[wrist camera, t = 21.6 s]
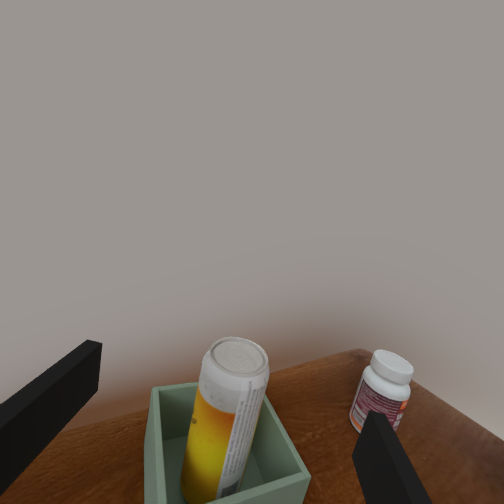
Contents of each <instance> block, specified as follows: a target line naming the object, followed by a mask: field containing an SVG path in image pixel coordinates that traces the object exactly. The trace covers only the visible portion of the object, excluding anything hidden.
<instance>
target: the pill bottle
mask: <svg viewBox="0 0 504 504" xmlns="http://www.w3.org/2000/svg"><path fill="white" fill-rule="evenodd" d="M370 364H371V365H369V366H367V367H366V368H365V369H364V371H363V374H362V377H361V380H360V383H359V386H358V389H357V392H356V395H355V398H354V400H353V403H352V406H351V409H350V414H349V416H350V420H351V423H352V425H353V426H354V428H355V429H356V430H357V431H358V432H359V433H360V432H361V430H362V427H363V425H364V422H365V419H366V417H367V414H368V411H369V410H371V411H375V412H379V413H383V414H386V416H387V418H388V420H389V422H390V424H391V426H392V428H393V430H394V431H395V432H396V430H397V427H398V425H399V423H400V420H401V417H402V415H403V412H404V410H405V407H406V405H407V402H408V399H409V397H410V393H411V391H410V387H409V385H408V384H409V383H410V381H411V378H412V375H413V372H414V369H413V367H412V365H411V364H410V363H409V362H408V361H406V360H405V359H404V358H402V357H400V356H398V355H397V354H395V353H392V352H389V351H386V350H376V351H375V352H374V354H373V356H372V359H371V361H370Z"/></svg>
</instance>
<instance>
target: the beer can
mask: <svg viewBox="0 0 504 504" xmlns="http://www.w3.org/2000/svg"><path fill="white" fill-rule="evenodd" d="M269 375H270V370H269V365H268V357H267V354H266V353H265V351H264V350H263V349H262V348H261V347H260V346H259V345H258V344H256V343H254V342H252V341H250V340H247V339H244V338H240V337H224V338H220V339H218V340H216V341H215V342H214V343H213V344H212V345H211V347H210V349H209V350H208V351H207V353H206V354H205V355H204V358H203V362H202V367H201V372H200V377H199V383H198V388H197V393H196V398H195V403H194V409H193V414H192V419H191V424H190V429H189V434H188V440H187V445H186V450H185V455H184V460H183V465H182V471H181V477H180V485H181V490H182V493H183V496H184V498H185V499H186V501H187V502H188V503H189V504H206V503H209V502H212V501H215V500H218V499H221V498H224V497H227V496H230V495H233V494H236V493H239V490H240V487H241V483H242V479H243V475H244V471H245V467H246V464H247V460H248V456H249V452H250V448H251V444H252V441H253V437H254V433H255V429H256V425H257V421H258V418H259V414H260V410H261V406H262V402H263V398H264V395H265V391H266V387H267V383H268V379H269Z"/></svg>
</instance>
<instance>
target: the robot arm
mask: <svg viewBox="0 0 504 504" xmlns="http://www.w3.org/2000/svg"><path fill="white" fill-rule="evenodd" d="M101 352H102V343H99V342H95V341H91V340H86V341H85V342H83V343H82V344H81V345H79V346H78V347H77V348H75V349H74V350H73V351H71V352H70V353H69V354H67V355H66V356H65V357H63V358H62V359H61V360H59V361H58V362H57V363H55V364H54V365H53V366H51V367H50V368H49V369H47V370H46V371H45V372H43V373H42V374H41V375H39V376H38V377H37V378H35V379H34V380H33V381H31V382H30V383H29V384H27V385H26V386H25V387H23V388H22V389H21V390H19V391H18V392H17V393H15V394H14V395H13V396H11V397H10V398H9V399H7V400H6V401H5V402H3V403H2V404H0V496H1V495H2V494H3V493H4V492H5V491H6V489H7V488H8V487H9V486H10V485H11V484H12V483H13V482H14V481H15V480H16V479H17V478H18V476H19V475H20V474H21V473H22V472H23V471H24V470H25V469H26V468H27V467H28V466H29V465H30V463H31V462H32V461H33V460H34V459H35V458H36V457H37V456H38V455H39V454H40V453H41V452H42V450H43V449H44V448H45V447H46V446H47V445H48V444H49V443H50V442H51V441H52V440H53V438H54V437H55V436H56V435H57V434H58V433H59V432H60V431H61V430H62V429H63V428H64V427H65V425H66V424H67V423H68V422H69V421H70V420H71V419H72V418H73V417H74V416H75V415H76V413H77V412H78V411H79V410H80V409H81V408H82V407H83V406H84V405H85V404H86V403H87V402H88V400H89V399H90V398H91V397H92V396H93V395H94V394H95V393H96V392H97V391H98V381H99V372H100V361H101ZM352 459H353V462H354V465H355V469H356V472H357V475H358V478H359V482H360V485H361V488H362V491H363V495H364V498H365V501H366V504H432V502H431V500H430V498H429V496H428V494H427V492H426V490H425V488H424V487H423V485H422V483H421V481H420V479H419V477H418V475H417V473H416V471H415V469H414V468H413V466H412V464H411V462H410V460H409V458H408V456H407V454H406V452H405V450H404V449H403V447H402V445H401V443H400V441H399V439H398V437H397V435H396V433H395V431H394V430H393V428H392V426H391V424H390V422H389V420H388V418H387V416H386V414H383V413H379V412H375V411H371V410H369V411H368V414H367V417H366V419H365V422H364V425H363V427H362V430H361V432H360V435H359V438H358V440H357V443H356V445H355V448H354V451H353V453H352Z"/></svg>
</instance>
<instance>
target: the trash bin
mask: <svg viewBox="0 0 504 504" xmlns="http://www.w3.org/2000/svg"><path fill="white" fill-rule="evenodd" d="M198 383H199V382H192V383H183V384H175V385H167V386H159V387H158V386H157V387H153V388H152V393H151V400H150V406H149V413H148V420H147V426H146V433H145V440H144V504H189V503H188V502H187V501H186V499H185V498H184V496H183V493H182V490H181V485H180V477H181V471H182V465H183V460H184V455H185V450H186V445H187V440H188V434H189V429H190V424H191V419H192V414H193V409H194V403H195V398H196V393H197V388H198ZM310 479H311V475H310V473H309V472H308V470H307V468H306V466H305V465H304V463H303V461H302V459H301V457H300V456H299V454H298V452H297V450H296V448H295V447H294V445H293V443H292V441H291V439H290V438H289V436H288V434H287V432H286V430H285V429H284V427H283V425H282V423H281V421H280V420H279V418H278V416H277V414H276V413H275V411H274V409H273V407H272V405H271V404H270V402H269V400H268V398H267V396H266V395H264V398H263V402H262V406H261V410H260V414H259V418H258V421H257V425H256V429H255V433H254V437H253V441H252V444H251V448H250V452H249V456H248V460H247V464H246V467H245V471H244V475H243V479H242V483H241V487H240V490H239V493H236V494H233V495H230V496H227V497H224V498H221V499H218V500H215V501H212V502H209V503H206V504H302V503H303V500H304V497H305V494H306V491H307V488H308V485H309V482H310Z"/></svg>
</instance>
